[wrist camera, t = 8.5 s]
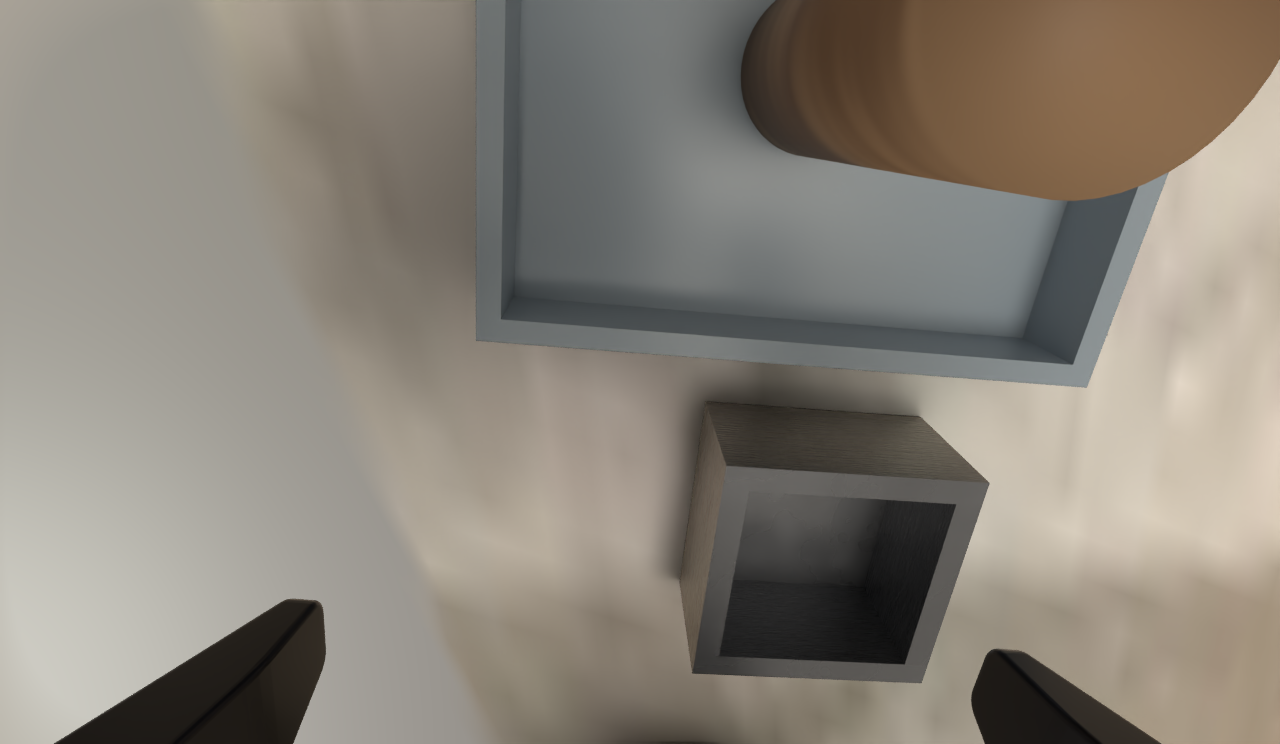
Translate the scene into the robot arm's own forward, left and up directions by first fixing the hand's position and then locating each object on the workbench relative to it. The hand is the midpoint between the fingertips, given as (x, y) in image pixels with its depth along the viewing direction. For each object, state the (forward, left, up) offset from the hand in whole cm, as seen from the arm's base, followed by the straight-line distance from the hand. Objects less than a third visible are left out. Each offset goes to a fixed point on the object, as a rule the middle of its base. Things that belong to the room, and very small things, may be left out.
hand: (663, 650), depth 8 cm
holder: (-5, -6, -12) cm, 14 cm away
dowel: (+8, -4, -11) cm, 14 cm away
